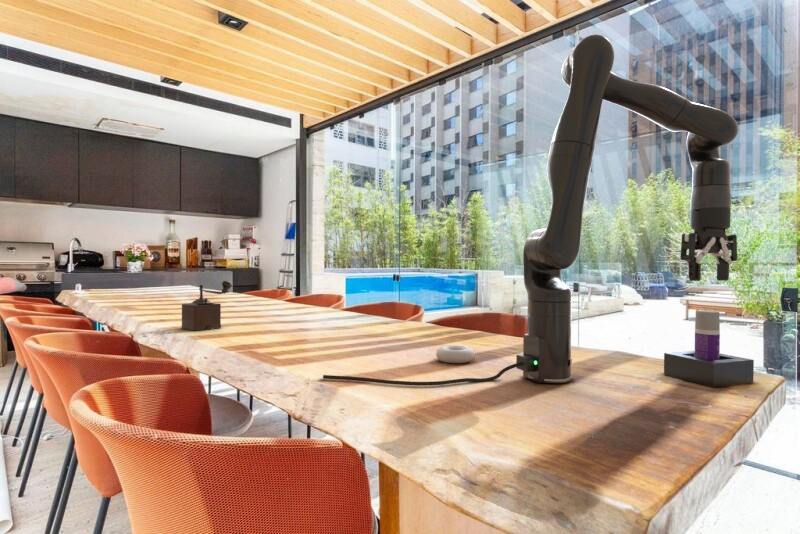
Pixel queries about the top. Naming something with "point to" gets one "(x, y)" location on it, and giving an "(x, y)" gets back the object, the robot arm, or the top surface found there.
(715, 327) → the container
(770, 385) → the top surface
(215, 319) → the coffee grinder
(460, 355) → the donut
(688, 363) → the stand
